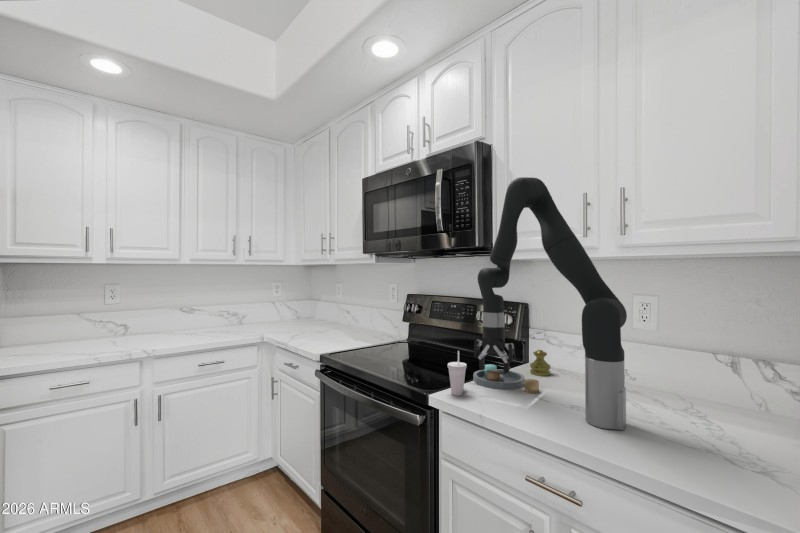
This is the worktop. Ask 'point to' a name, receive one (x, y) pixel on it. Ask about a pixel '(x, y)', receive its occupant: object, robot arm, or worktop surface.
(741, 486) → the worktop surface
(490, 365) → the teal bead
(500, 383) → the ring tray
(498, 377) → the walnut bead
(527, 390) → the oak bead
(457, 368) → the smoothie
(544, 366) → the olive chess piece
